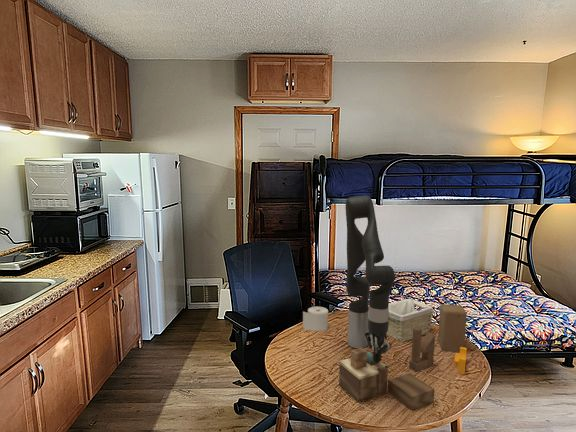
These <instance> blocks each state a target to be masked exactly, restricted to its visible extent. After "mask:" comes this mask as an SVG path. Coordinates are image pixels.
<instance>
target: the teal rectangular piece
mask: <svg viewBox="0 0 576 432" xmlns="http://www.w3.org/2000/svg"><path fill="white" fill-rule="evenodd" d="M363 349H364V350H366V351H367V359H369V360H370V361H372V362H373V353H372V352H370V351H368V348H367V347H365V348H363Z"/></svg>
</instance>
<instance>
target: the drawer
mask: <svg viewBox="0 0 576 432" xmlns="http://www.w3.org/2000/svg"><path fill="white" fill-rule="evenodd" d="M367 351H368V350H367ZM367 351H366V350H364V348H354V349H351V350H350V357H349V358H346V359H342V360H338V361H339V365H340V364H341V365H342V366H343V367H344V368H346V369H347V370H348V371H349V372H351V373H352V374H353V375H354V376H356V377H357V378H358V379H359V380H360V379H363V378H366V377H370V376H373V375H376V374H379V371H378V368H383V367H385V366H387V365H386V364H385V363H383V362H379V364H375V365H372V366H371V365H370V364H368V363H367Z"/></svg>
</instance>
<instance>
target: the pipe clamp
mask: <svg viewBox="0 0 576 432" xmlns="http://www.w3.org/2000/svg"><path fill="white" fill-rule="evenodd" d="M467 349H468V348H467V347H460V352H454V353H455V355H454V363H453V365H454V366H455V367H456V366H457V373H458V374H463V375H466V374H465V373H466V363H467Z"/></svg>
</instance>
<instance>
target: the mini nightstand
mask: <svg viewBox="0 0 576 432" xmlns="http://www.w3.org/2000/svg"><path fill="white" fill-rule="evenodd" d="M367 363H368V364H370V365H371V366H372V365H375V364H379V363H380V362H377V363H376V362H375V361H373V362H372V361H370V360H369V359H367ZM378 371H379V374H376V375H373V376H370V377H366V378H363V379H360V380H359V379H358V378H357V377H356V376H354V375H353V374H352V373H351V372H349V371H348V370H347V369H346V368H344V367H343V366H342V365H341V364H339V371H338V372H339V373H338V375H339V377H338V386H339V387H340V388H341V389H342V390H344V392H345V393H347V394H348V395H349V396H350V397H351V398H352V399H354V401H356V402H357V403H361V402H364V401H366V400H369V399H372V398H376V397H381V396H382V397H383V395H387V394H388V380H389V379H388V377H389V376H388V375H389V366H388V365H386V366H385V367H383V368H378Z"/></svg>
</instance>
